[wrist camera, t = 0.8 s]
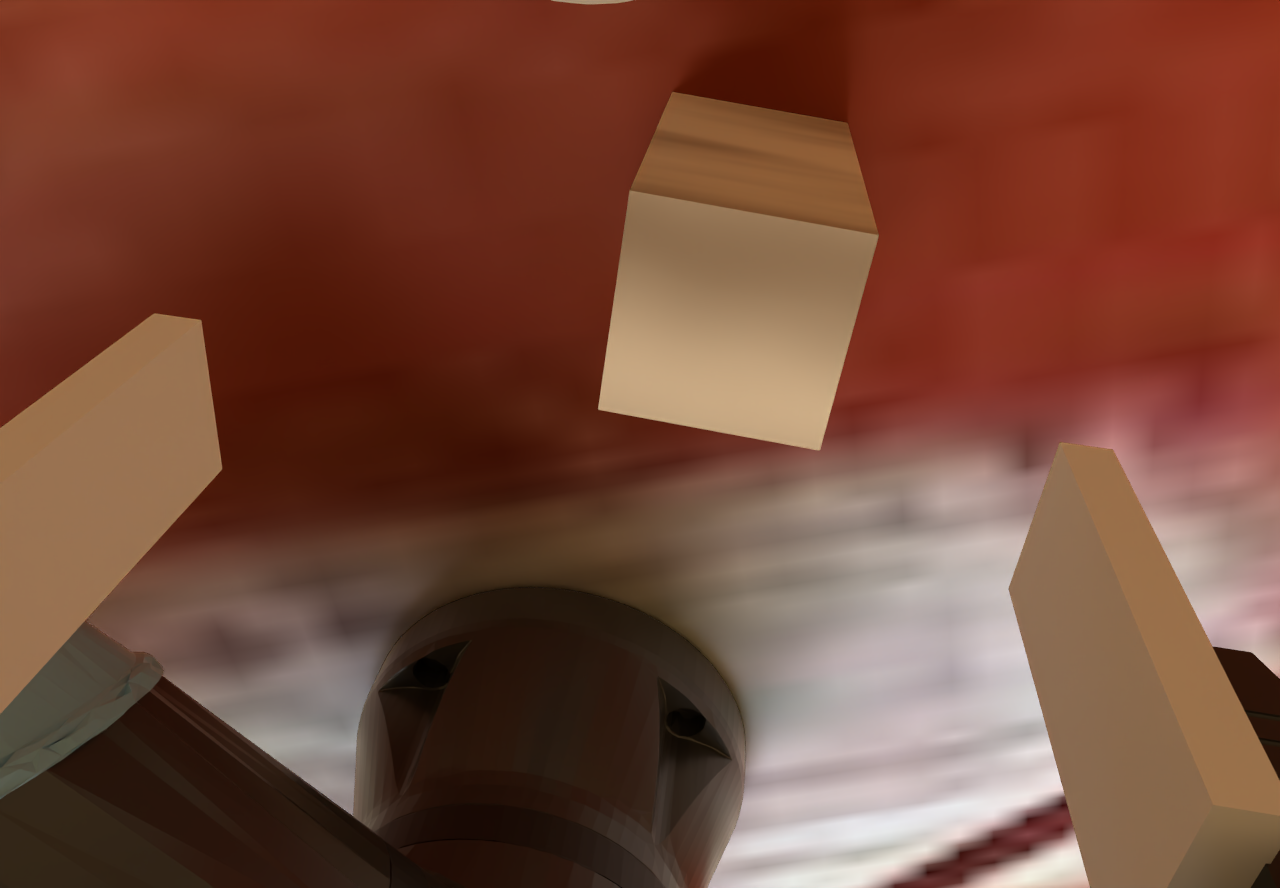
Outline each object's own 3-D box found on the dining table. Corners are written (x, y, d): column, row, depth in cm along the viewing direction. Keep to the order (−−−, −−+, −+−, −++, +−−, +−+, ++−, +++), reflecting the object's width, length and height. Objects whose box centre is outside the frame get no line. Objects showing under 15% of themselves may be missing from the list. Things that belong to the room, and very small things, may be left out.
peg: (807, 288, 32) (819, 450, 23) (645, 258, 32) (597, 409, 23) (847, 123, 29) (878, 235, 20) (672, 91, 29) (629, 190, 21)
